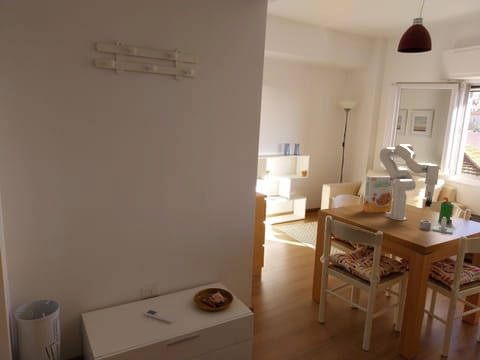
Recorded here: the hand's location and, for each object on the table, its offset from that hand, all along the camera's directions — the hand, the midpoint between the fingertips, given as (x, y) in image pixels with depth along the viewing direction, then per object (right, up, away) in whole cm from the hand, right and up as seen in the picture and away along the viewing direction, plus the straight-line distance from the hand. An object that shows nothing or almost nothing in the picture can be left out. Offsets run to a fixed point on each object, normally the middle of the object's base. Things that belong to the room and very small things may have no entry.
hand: (428, 205), depth 246 cm
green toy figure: (+25, -15, +21) cm, 36 cm away
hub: (-1, -17, +3) cm, 17 cm away
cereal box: (-18, -9, +49) cm, 53 cm away
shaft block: (+10, -18, 0) cm, 21 cm away
